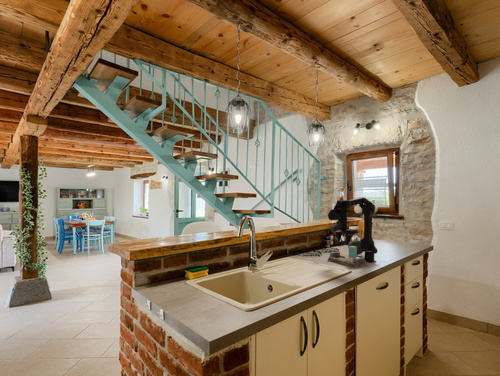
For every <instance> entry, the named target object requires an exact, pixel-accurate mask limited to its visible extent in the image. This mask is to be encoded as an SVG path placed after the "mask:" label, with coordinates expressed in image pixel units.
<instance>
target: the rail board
mask: <svg viewBox="0 0 500 376" xmlns="http://www.w3.org/2000/svg"><path fill="white" fill-rule="evenodd" d="M345 257H346V256H345V255H341V252H340V251H333V252H332V251H331V252H329V256H328V258H327V261H329V262H332V263H335V264H339V265H342V266H346V267H349V268H353V269H357V268H361V267H367V266H368V265H367V263H368V262H366V261H364V257H359V258H357V259H354V263H352V262H348V261H345Z"/></svg>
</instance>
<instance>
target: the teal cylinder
mask: <svg viewBox="0 0 500 376" xmlns="http://www.w3.org/2000/svg"><path fill="white" fill-rule="evenodd" d="M357 258H360V257H359V256H358V255H357V247H355V246H349V249H348V256H345V261H348V262H352V263H354V259H357Z"/></svg>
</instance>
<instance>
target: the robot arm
mask: <svg viewBox="0 0 500 376" xmlns="http://www.w3.org/2000/svg"><path fill="white" fill-rule="evenodd" d="M352 206H353V207H354V206H358V207H359V208H360V209H361V212H362V213H361V214H362V215H363V217H364V218H363V238H362V239H360V241H361V244H360V245H361V248H362V251H363V253H364V255H363V256H364V257H363V258H364V261H365V263H369V264H370V263H371V264H372V263H377V260H375V254H378V249H377V247H376V246H375V241H374V239H373V238H372V237H373V216H374V215H375V211H376V205H375V204H374V203H373V202H372V201H371V200H370V201H369V200H368V199H367V198H366V197H357V198H356V197H355V198H352V199H348V200H344V199H338V200H337V201H336V203H335V205H334V207H333V208H332V209H330V210H329V212H328V214H327V218H328V220H329V221H330V222H331V221H335V223H333V224H331V225H329V230H330V232H332V233H333V234H334V236H335V238H336V241H337V243H338V244H340V243H341V241H342V239H341V238H342V236H343V237H344V239H345V241H344V242H345V246H348V244H349V242H350V241H352V238H353V237H354V236H356V235H355V234H356V230H354V229H349V227H348V224H349V223H350V222H349V221H348V213H350V210H349V209H350V208H352Z"/></svg>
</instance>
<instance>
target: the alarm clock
mask: <svg viewBox="0 0 500 376" xmlns="http://www.w3.org/2000/svg"><path fill="white" fill-rule="evenodd" d="M356 235H357V237H356ZM353 237H354V238H353V239H351V240H350V242H349V244H348V245H347V249H348V250H349V246H355V247H357V256H359V255H360V256H362V257H363V255H362V253H363V254H364V252H363V251H362V248H361V245H360V244H361V239H359V238H360V235H359V234H358V233H355V235H354V236H353Z"/></svg>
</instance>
